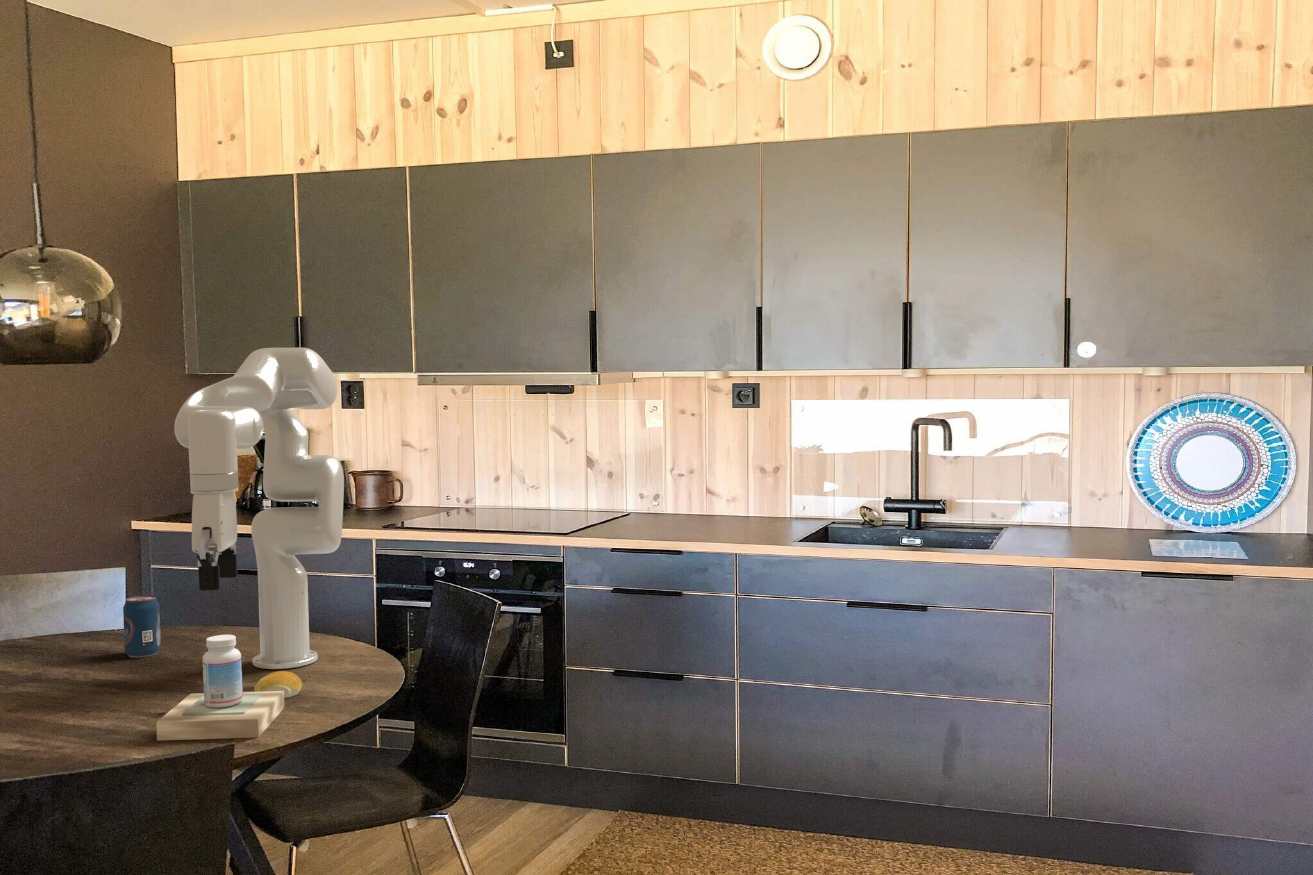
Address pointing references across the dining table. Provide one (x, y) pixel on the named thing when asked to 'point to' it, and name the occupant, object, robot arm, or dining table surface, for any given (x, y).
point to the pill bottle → (222, 672)
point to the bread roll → (280, 683)
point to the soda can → (141, 626)
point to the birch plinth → (220, 717)
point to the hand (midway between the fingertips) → (219, 583)
